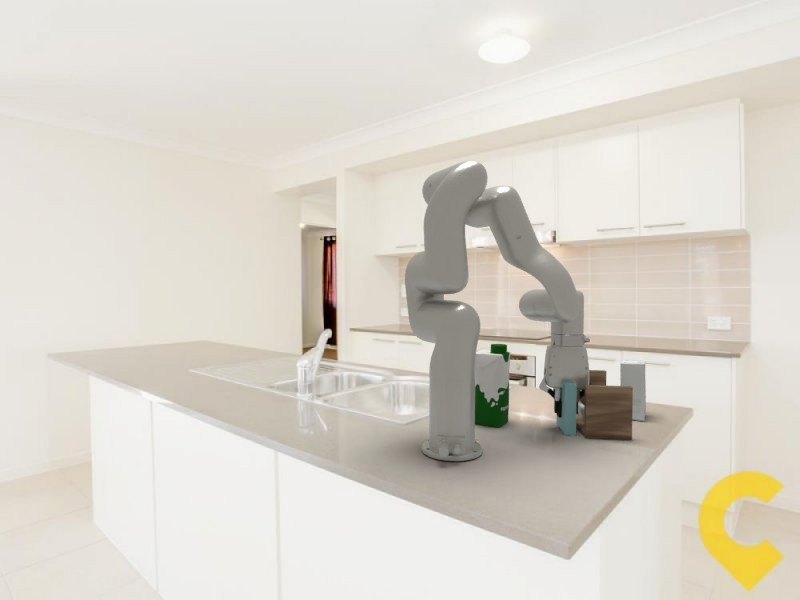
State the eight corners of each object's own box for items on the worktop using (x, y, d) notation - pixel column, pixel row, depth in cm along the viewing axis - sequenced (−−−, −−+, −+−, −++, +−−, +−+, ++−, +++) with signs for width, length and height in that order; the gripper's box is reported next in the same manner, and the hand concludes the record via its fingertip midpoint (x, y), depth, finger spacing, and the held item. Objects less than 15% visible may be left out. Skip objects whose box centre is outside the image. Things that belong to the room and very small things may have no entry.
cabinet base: (631, 440, 108) (632, 387, 108) (585, 438, 109) (586, 386, 109) (604, 414, 130) (604, 370, 129) (565, 413, 131) (566, 369, 131)
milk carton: (501, 429, 116) (502, 347, 115) (466, 423, 121) (467, 344, 120) (512, 420, 124) (513, 343, 123) (479, 415, 128) (480, 341, 128)
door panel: (575, 435, 112) (576, 384, 111) (564, 435, 112) (565, 383, 112) (567, 423, 121) (567, 376, 121) (556, 422, 122) (556, 375, 121)
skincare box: (644, 422, 123) (646, 364, 122) (619, 418, 126) (620, 362, 125) (645, 414, 130) (646, 359, 130) (621, 411, 133) (622, 358, 132)
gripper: (597, 340, 119) (596, 413, 119) (530, 338, 121) (529, 411, 121) (606, 343, 111) (605, 422, 112) (534, 342, 113) (533, 419, 114)
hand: (565, 415), depth 117 cm, fingers closed on door panel, 2 cm apart
